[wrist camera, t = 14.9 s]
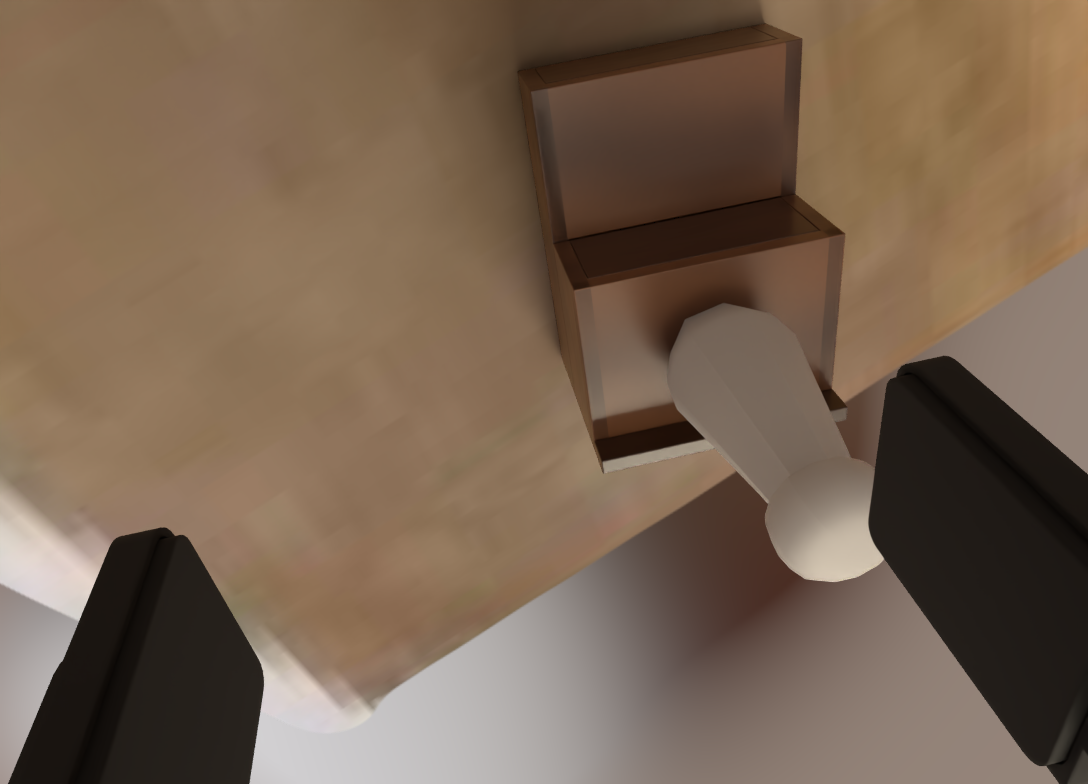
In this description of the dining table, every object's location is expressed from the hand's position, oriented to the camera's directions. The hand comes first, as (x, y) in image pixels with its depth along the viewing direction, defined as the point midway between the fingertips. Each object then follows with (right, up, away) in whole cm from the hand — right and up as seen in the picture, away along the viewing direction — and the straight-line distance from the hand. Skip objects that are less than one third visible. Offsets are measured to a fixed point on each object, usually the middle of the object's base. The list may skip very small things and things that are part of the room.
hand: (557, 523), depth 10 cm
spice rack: (+6, +11, +30) cm, 33 cm away
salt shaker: (+8, +4, +25) cm, 27 cm away
